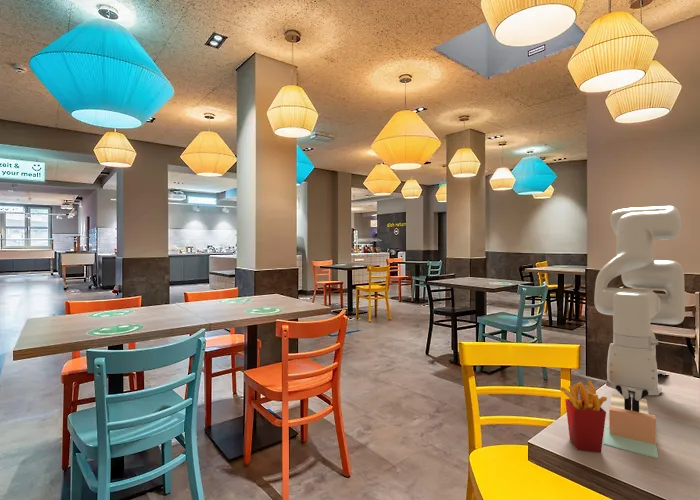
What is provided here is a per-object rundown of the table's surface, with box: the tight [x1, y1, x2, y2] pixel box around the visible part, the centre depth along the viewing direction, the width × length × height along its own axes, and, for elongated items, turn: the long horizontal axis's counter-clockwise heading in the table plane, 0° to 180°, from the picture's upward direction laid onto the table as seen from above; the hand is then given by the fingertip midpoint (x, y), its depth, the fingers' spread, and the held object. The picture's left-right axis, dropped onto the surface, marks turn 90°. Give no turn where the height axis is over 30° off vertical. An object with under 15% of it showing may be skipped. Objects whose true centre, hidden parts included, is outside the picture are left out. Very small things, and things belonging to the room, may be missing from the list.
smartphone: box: [657, 370, 667, 376], centre depth 137 cm, size 7×15×1 cm, turn 131°
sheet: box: [610, 393, 649, 414], centre depth 101 cm, size 16×8×4 cm, turn 144°
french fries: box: [559, 380, 608, 454], centre depth 89 cm, size 9×8×15 cm
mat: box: [603, 425, 659, 459], centre depth 90 cm, size 11×10×1 cm
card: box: [608, 405, 657, 446], centre depth 92 cm, size 6×9×2 cm
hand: (631, 413), depth 94 cm, fingers closed
